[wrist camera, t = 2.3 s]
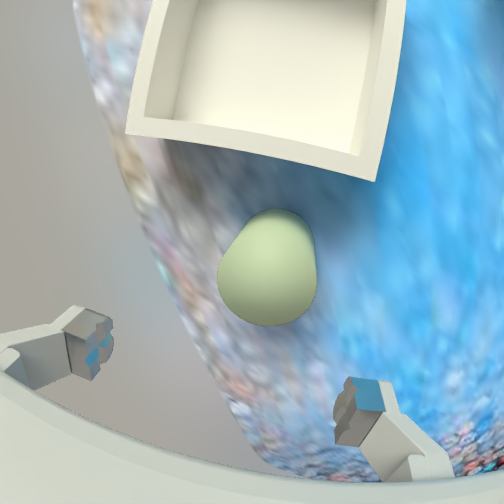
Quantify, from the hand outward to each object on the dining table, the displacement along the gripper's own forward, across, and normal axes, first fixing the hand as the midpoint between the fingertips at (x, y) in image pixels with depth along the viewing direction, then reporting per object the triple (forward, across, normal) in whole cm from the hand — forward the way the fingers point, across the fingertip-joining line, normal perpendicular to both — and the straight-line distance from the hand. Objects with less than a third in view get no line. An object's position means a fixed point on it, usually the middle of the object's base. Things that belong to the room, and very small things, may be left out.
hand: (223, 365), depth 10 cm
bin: (+12, +2, -13) cm, 18 cm away
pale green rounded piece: (+12, -1, 0) cm, 13 cm away
